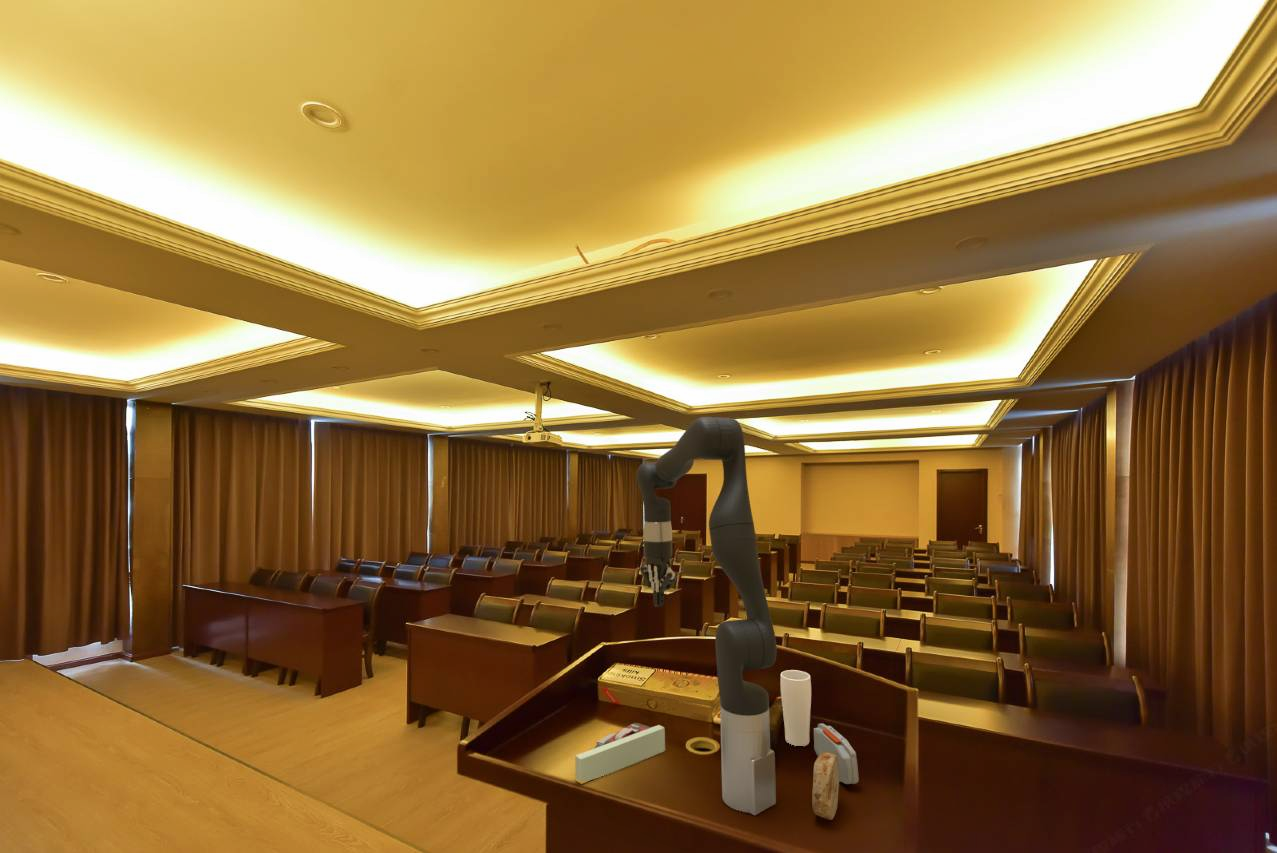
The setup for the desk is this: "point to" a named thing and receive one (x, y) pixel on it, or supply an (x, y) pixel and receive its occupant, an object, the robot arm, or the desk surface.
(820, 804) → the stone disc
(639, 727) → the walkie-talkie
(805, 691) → the drinking glass
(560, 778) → the desk surface
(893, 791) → the desk surface
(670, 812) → the desk surface
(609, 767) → the bar
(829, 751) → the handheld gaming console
